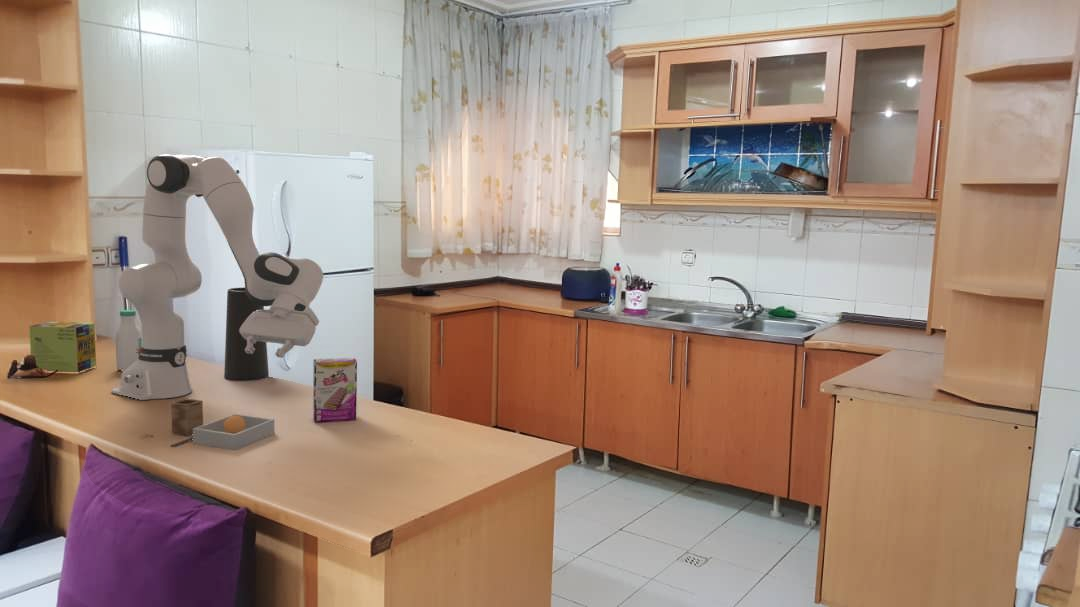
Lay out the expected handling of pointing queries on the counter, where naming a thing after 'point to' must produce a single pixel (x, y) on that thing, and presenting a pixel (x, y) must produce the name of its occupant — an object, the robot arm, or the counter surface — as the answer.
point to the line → (182, 442)
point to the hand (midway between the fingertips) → (263, 354)
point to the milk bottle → (127, 340)
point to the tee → (186, 416)
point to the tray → (219, 438)
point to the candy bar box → (334, 389)
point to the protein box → (63, 346)
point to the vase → (242, 341)
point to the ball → (234, 425)
